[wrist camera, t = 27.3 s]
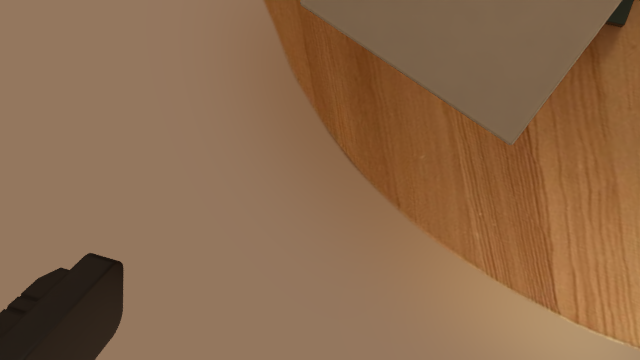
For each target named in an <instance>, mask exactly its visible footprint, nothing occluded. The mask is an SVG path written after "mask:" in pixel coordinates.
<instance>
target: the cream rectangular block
mask: <svg viewBox="0 0 640 360" xmlns="http://www.w3.org/2000/svg"><path fill="white" fill-rule="evenodd" d="M621 1H622V0H301V2H300V4H301V6H303V7H304V8H306V9H307V10H309V11H310V12H312V13H313V14H315V15H316V16H318V17H319V18H321V19H322V20H324V21H325V22H327V23H328V24H330V25H331V26H333V27H334V28H336V29H337V30H339V31H340V32H342V33H343V34H345V35H346V36H348V37H349V38H351V39H352V40H354V41H355V42H357V43H358V44H360V45H361V46H363V47H364V48H365V49H367V50H368V51H370V52H371V53H373V54H374V55H376V56H377V57H379V58H380V59H382V60H383V61H385V62H386V63H388V64H389V65H391V66H392V67H394V68H395V69H397V70H398V71H400V72H401V73H403V74H404V75H406V76H407V77H409V78H410V79H412V80H413V81H415V82H416V83H418V84H419V85H421V86H422V87H424V88H425V89H427V90H428V91H430V92H431V93H433V94H434V95H435V96H437V97H438V98H440V99H441V100H443V101H444V102H446V103H447V104H449V105H450V106H452V107H453V108H455V109H456V110H458V111H459V112H461V113H462V114H464V115H465V116H467V117H468V118H470V119H471V120H473V121H474V122H476V123H477V124H479V125H480V126H482V127H483V128H485V129H486V130H488V131H489V132H491V133H492V134H494V135H495V136H497V137H498V138H500V139H501V140H502V141H504V142H505V143H507V144H508V145H512V144H514V142H515V141H516V140H517V138H518V137H519V136H520V134H521V133H522V132H523V131H524V129H525V128H526V127H527V125H528V124H529V123H530V121H531V120H532V119H533V117H534V116H535V115H536V113H537V112H538V111H539V109H540V108H541V107H542V105H543V104H544V103H545V102H546V100H547V99H548V98H549V96H550V95H551V94H552V92H553V91H554V90H555V88H556V87H557V86H558V84H559V83H560V82H561V80H562V79H563V78H564V76H565V75H566V74H567V73H568V71H569V70H570V69H571V67H572V66H573V65H574V63H575V62H576V61H577V59H578V58H579V57H580V55H581V54H582V53H583V51H584V50H585V49H586V47H587V46H588V45H589V43H590V42H591V41H592V40H593V38H594V37H595V36H596V34H597V33H598V32H599V30H600V29H601V28H602V26H603V25H604V24H605V22H606V21H607V20H608V18H609V17H610V16H611V14H612V13H613V12H614V11H615V9H616V8H617V7H618V5H619V4H620V3H621Z"/></svg>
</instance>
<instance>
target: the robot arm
mask: <svg viewBox="0 0 640 360" xmlns="http://www.w3.org/2000/svg"><path fill="white" fill-rule="evenodd" d="M122 312H123V264H122V263H121V262H120V261H116V260H113V259H110V258H106V257H103V256H99V255H96V254H93V253H89V254H87V255H85V256H84V257H83V258H82V259H81V260H80V261H79V262H78V263H77V264H76V265H75V266H74V267H73V268H72V269H70V270H67V269H63V268H59V269H57V270H55V271H53V272H51V273H48V274H46V275H44V276H42V277H40V278H38V279H37V280H36V281H35V282H34V283H33V284H31V285H30V286H29V287H28V288H27V289H26V290H25V291H24V292H23V293H22V294H21V296H20V297H17V298H16V299H15V300H14V301H13V302H12V303H10V304H9V305H8V307H7V309H6V310H5V309H4V310H3V311H2V312H1V313H0V360H95V359H96V357H97V356H98V355H99V353H100V352H101V351H102V349H103V348H104V347H105V346H106V344H107V343H108V342H109V341H110V339H111V338H112V337H113V335H114V334H115V332H116V330H117V328H118V326H119V324H120V321H121V317H122Z"/></svg>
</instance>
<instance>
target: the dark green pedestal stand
mask: <svg viewBox="0 0 640 360" xmlns="http://www.w3.org/2000/svg"><path fill="white" fill-rule="evenodd" d="M633 1H634V0H622V1H621V3H620V4H619V5H618V7H617V8H616V9H615V11H614V12H613V13H612V14H611V16H610V17H609V18H608V20H607V21H606V22H605V24H608V25H613V26H617V27H622V26H624V24H625V22H626V20H627V17H628V14H629V12H630V9H631V6H632V4H633Z"/></svg>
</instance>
